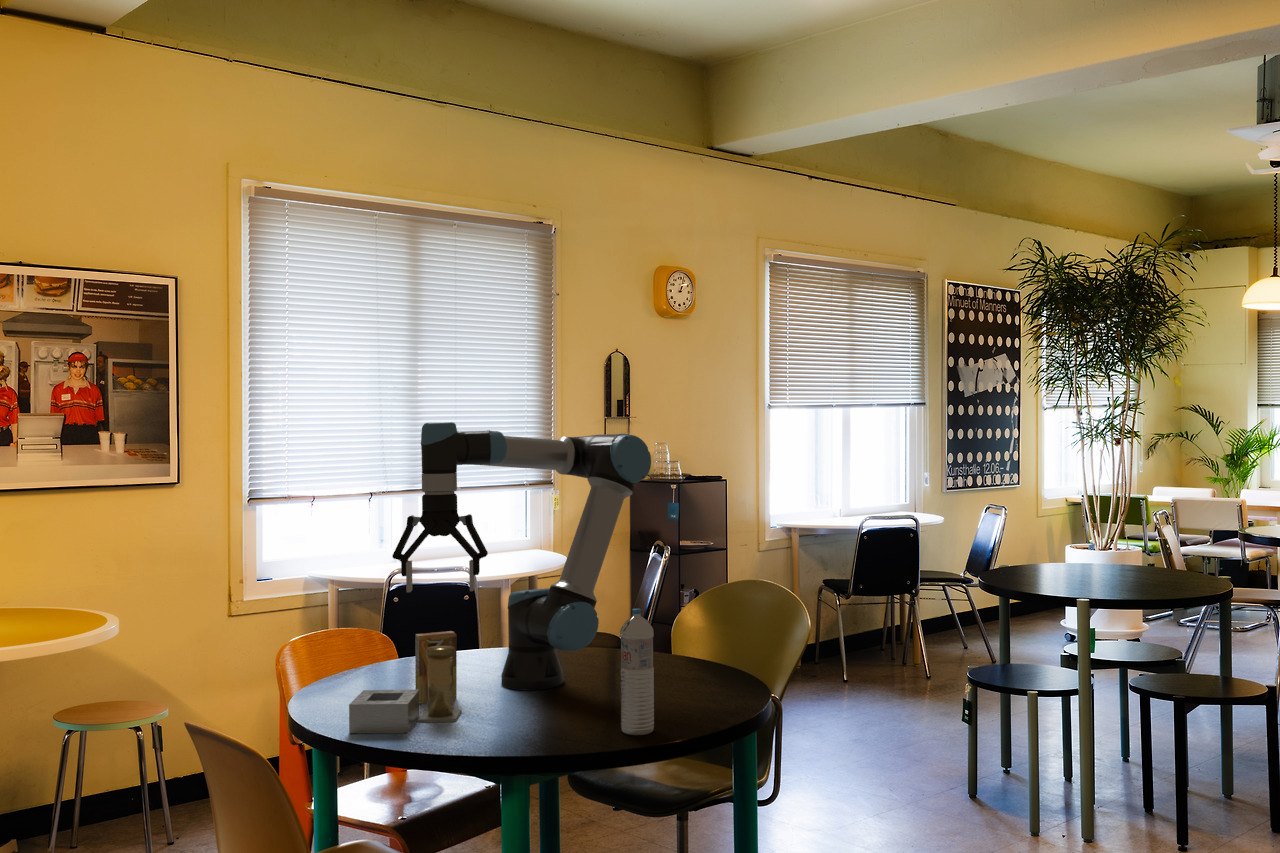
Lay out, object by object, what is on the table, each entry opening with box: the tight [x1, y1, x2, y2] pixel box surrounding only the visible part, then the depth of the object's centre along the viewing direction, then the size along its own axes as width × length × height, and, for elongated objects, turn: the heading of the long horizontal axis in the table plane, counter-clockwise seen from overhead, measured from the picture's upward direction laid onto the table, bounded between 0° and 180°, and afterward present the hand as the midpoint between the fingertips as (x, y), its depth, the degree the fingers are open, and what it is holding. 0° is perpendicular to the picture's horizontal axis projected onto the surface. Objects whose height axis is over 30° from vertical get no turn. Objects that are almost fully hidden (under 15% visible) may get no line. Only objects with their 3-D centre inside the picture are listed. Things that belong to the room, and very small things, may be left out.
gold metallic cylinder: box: [426, 646, 454, 717], centre depth 222 cm, size 6×6×14 cm
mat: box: [417, 708, 462, 723], centre depth 222 cm, size 8×8×1 cm
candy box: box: [414, 630, 458, 704], centre depth 237 cm, size 9×4×15 cm, turn 116°
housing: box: [348, 689, 420, 734], centre depth 216 cm, size 12×12×6 cm
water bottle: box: [619, 608, 655, 736], centre depth 210 cm, size 7×7×25 cm
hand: (440, 591), depth 222 cm, fingers open, 13 cm apart
